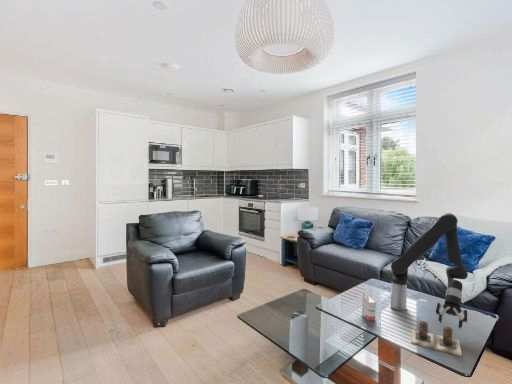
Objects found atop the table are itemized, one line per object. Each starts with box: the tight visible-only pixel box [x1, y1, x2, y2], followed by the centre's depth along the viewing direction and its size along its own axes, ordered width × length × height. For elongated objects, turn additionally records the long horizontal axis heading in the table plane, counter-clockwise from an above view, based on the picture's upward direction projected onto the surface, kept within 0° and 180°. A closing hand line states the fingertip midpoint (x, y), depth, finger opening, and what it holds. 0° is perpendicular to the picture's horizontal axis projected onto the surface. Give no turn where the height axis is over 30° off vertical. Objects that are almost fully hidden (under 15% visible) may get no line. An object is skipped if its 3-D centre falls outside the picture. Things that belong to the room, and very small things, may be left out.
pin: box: [418, 320, 429, 339], centre depth 151 cm, size 4×4×8 cm
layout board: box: [410, 328, 463, 357], centre depth 148 cm, size 22×14×1 cm, turn 59°
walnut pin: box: [442, 325, 453, 345], centre depth 145 cm, size 4×4×8 cm
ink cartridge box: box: [361, 292, 377, 322], centre depth 175 cm, size 9×5×15 cm, turn 5°
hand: (449, 325), depth 152 cm, fingers open, 8 cm apart
